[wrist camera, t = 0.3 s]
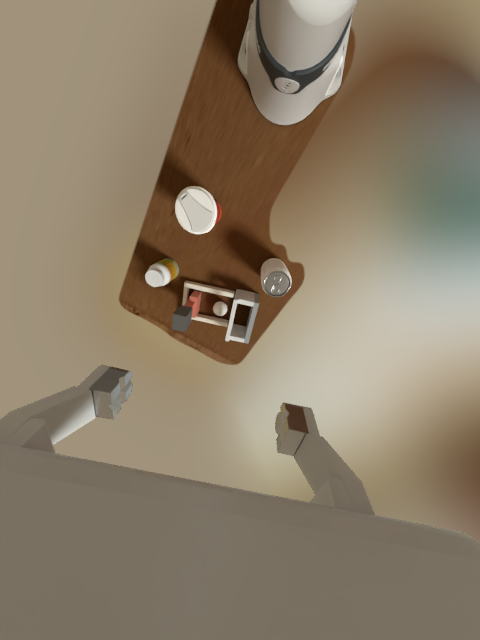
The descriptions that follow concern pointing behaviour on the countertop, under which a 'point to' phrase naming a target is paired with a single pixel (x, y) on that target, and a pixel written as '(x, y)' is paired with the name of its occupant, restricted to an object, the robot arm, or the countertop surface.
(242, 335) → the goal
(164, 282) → the supplement bottle
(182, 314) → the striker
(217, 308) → the ball
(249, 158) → the countertop surface
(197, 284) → the white flat open frame
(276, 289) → the can
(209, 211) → the paper cup
